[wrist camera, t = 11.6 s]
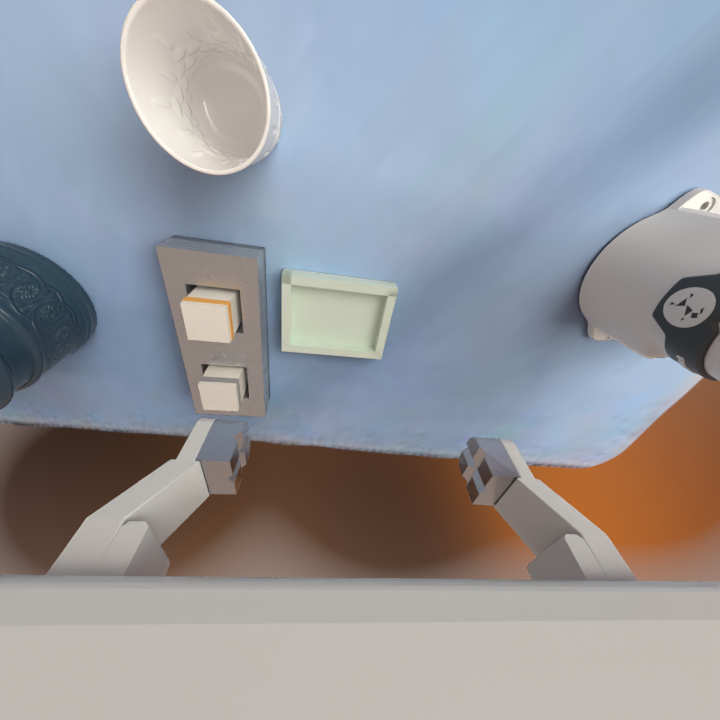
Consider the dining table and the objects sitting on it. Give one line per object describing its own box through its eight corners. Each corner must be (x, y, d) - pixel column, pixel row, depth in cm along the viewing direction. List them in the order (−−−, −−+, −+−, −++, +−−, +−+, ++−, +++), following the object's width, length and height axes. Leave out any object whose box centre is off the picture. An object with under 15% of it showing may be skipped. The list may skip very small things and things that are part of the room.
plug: (241, 283, 32) (226, 307, 27) (244, 316, 34) (230, 343, 30) (202, 279, 31) (179, 302, 27) (208, 312, 34) (187, 340, 29)
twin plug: (247, 356, 38) (235, 386, 33) (249, 380, 40) (238, 411, 35) (214, 353, 37) (197, 384, 32) (218, 378, 39) (202, 409, 35)
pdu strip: (265, 247, 31) (257, 258, 28) (269, 397, 44) (265, 416, 40) (174, 235, 30) (155, 245, 26) (206, 393, 42) (196, 413, 39)
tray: (395, 282, 34) (398, 288, 33) (379, 351, 40) (381, 359, 39) (284, 268, 32) (281, 274, 31) (283, 342, 38) (281, 351, 37)
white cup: (225, 179, 27) (180, 191, 19) (171, 65, 23) (82, 18, 15) (303, 152, 26) (291, 152, 18) (264, 28, 22) (225, -43, 14)
